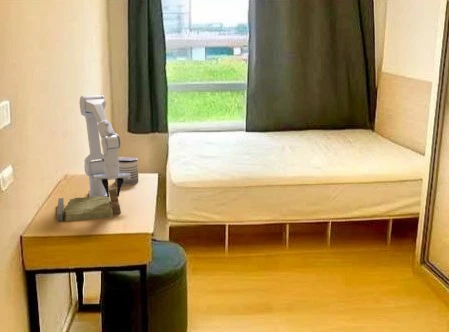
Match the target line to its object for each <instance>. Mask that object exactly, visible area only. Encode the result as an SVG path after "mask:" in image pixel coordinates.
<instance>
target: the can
mask: <svg viewBox="0 0 449 332" xmlns="http://www.w3.org/2000/svg"><path fill="white" fill-rule="evenodd" d="M119 173H130V178H131V179H123V180H124V182H123V184H122V186H129V185H130V186H131V185H135V184H138V183H139V158H138V157H133V156H119ZM114 183H115V184H116V183H117V179H114Z"/></svg>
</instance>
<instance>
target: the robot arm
mask: <svg viewBox="0 0 449 332" xmlns="http://www.w3.org/2000/svg"><path fill="white" fill-rule="evenodd" d="M106 101H107V100H106V97H105V96H104V95H103V94H96V95H95V94H94V95H93V94H90V95H81V96H80V97H79V110H80V115H81V116H83V117H84V118H85V123H86V131H87V139H88V147H89V154H88V155H87V156H86V157H85V158H84V166H83V169H84V172H85V174H86V175H87V176H88V182H89V183H88V184H89V190H88V197H97V196H99V197H109V198H110V194H109V180H115V179H117V184H116V191H117V196H118V198H119V197H120V191H121V188H122V186H123V185H122V184H123V182H124V180H123V179H131V178H130V173H119V157H120V156H119V155H120V154H119V149H121V138H120V135H119V134H118V133H117V132H115V130H114V128H113V125H112V123H111V121H109V120H108V119H107V116H106V113H105V108H106V104H107V103H106ZM100 138H101V140H100Z"/></svg>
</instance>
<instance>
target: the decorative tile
mask: <svg viewBox="0 0 449 332" xmlns="http://www.w3.org/2000/svg"><path fill="white" fill-rule="evenodd" d="M63 213H64V217H65V221H66V222H69V221H81V220H94V219H95V220H96V219H107V218H108V219H110V218H113V215H114V214H113V209H112V204H111V199H110V196H109V197H99V196H97V197H89V196H85V197H75V198H70V199H69V201H68V203H67V206H64V211H63Z"/></svg>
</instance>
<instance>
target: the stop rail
mask: <svg viewBox="0 0 449 332" xmlns="http://www.w3.org/2000/svg"><path fill="white" fill-rule="evenodd" d="M64 199H65V198H64V197H61V198H60V197H59V198H58V199H57V210H56V221H57V222H63V220H64V208H65V201H64Z"/></svg>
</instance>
